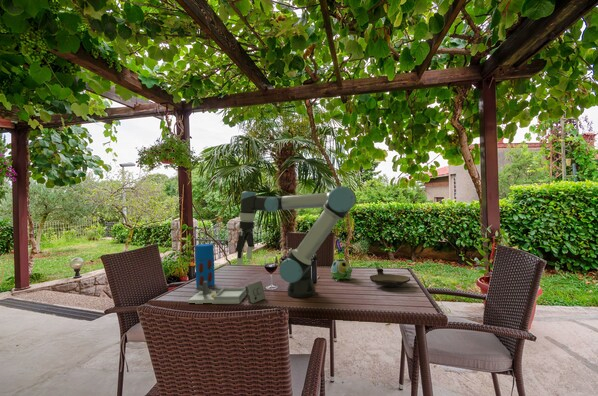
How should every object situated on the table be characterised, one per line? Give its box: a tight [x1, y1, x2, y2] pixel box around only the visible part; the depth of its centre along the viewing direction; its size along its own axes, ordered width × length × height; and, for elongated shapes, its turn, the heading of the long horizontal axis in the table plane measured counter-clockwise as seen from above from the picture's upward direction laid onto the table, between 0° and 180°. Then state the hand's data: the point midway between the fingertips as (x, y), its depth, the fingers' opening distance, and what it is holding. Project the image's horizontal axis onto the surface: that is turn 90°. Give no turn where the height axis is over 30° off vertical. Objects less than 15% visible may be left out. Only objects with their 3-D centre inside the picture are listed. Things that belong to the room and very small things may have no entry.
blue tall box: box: [194, 243, 216, 289], centre depth 182 cm, size 11×11×25 cm
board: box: [188, 287, 247, 305], centre depth 156 cm, size 26×15×4 cm, turn 85°
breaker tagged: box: [202, 281, 208, 297], centre depth 154 cm, size 1×3×8 cm, turn 175°
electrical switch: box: [244, 280, 266, 304], centre depth 152 cm, size 9×5×9 cm, turn 141°
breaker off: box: [196, 285, 213, 293], centre depth 160 cm, size 1×3×8 cm
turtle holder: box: [330, 258, 353, 282], centre depth 186 cm, size 12×18×12 cm
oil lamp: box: [369, 265, 411, 288], centre depth 173 cm, size 22×30×8 cm
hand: (244, 261), depth 155 cm, fingers open, 13 cm apart
